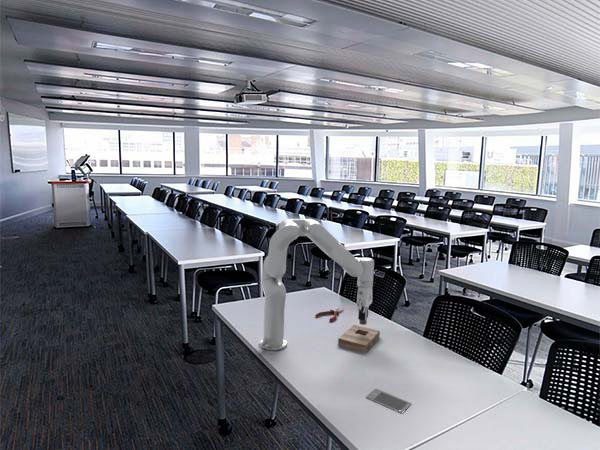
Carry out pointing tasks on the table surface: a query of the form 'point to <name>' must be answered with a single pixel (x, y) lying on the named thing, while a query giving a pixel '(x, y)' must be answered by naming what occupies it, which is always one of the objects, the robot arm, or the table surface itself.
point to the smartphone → (388, 400)
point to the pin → (365, 318)
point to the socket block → (359, 338)
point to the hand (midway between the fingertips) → (363, 318)
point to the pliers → (335, 312)
